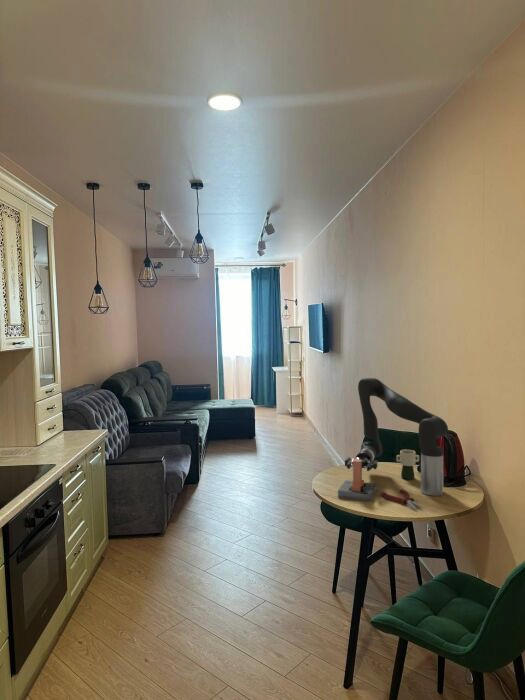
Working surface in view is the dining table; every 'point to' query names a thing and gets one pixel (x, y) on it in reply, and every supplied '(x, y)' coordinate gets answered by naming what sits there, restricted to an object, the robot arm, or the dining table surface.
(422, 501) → the dining table surface
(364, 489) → the grey socket board
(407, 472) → the character mug
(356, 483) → the pink tall block
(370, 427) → the robot arm
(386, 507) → the dining table surface
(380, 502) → the dining table surface
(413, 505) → the pliers
